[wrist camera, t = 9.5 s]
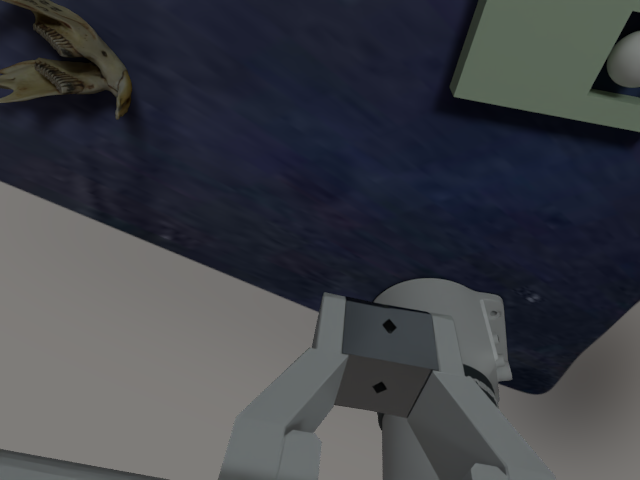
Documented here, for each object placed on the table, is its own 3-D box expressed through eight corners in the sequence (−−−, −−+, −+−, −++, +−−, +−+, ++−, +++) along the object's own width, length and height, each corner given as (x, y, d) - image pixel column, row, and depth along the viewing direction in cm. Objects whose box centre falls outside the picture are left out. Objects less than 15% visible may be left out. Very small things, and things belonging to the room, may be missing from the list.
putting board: (741, -6, 31) (766, 0, 29) (653, 125, 37) (669, 137, 35) (496, -53, 30) (504, -51, 28) (449, 87, 37) (453, 96, 35)
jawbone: (155, 155, 38) (30, 172, 31) (70, 77, 43) (-54, 75, 36) (172, 52, 33) (26, 41, 25) (73, -23, 38) (-71, -50, 31)
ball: (664, 80, 30) (604, 62, 31) (643, 103, 33) (590, 85, 35) (695, 27, 29) (633, 11, 31) (670, 56, 33) (616, 41, 34)
